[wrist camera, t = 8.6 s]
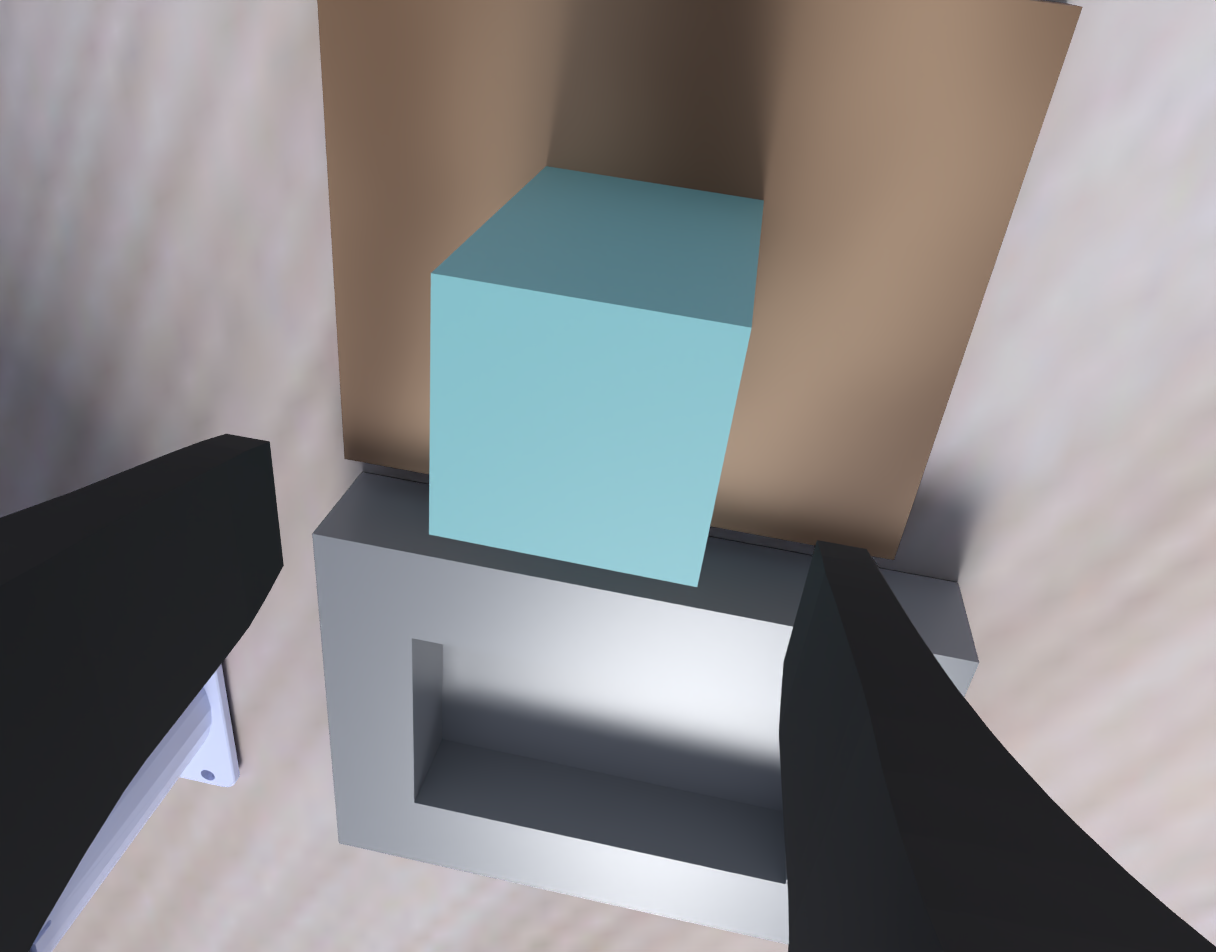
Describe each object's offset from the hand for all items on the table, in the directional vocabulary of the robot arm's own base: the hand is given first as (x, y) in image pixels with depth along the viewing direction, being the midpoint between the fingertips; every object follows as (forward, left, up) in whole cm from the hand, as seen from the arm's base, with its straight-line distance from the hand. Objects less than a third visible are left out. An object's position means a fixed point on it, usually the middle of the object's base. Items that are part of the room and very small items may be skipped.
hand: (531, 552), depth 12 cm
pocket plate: (+1, -12, -10) cm, 16 cm away
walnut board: (0, +1, -10) cm, 10 cm away
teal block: (0, 0, -9) cm, 9 cm away
